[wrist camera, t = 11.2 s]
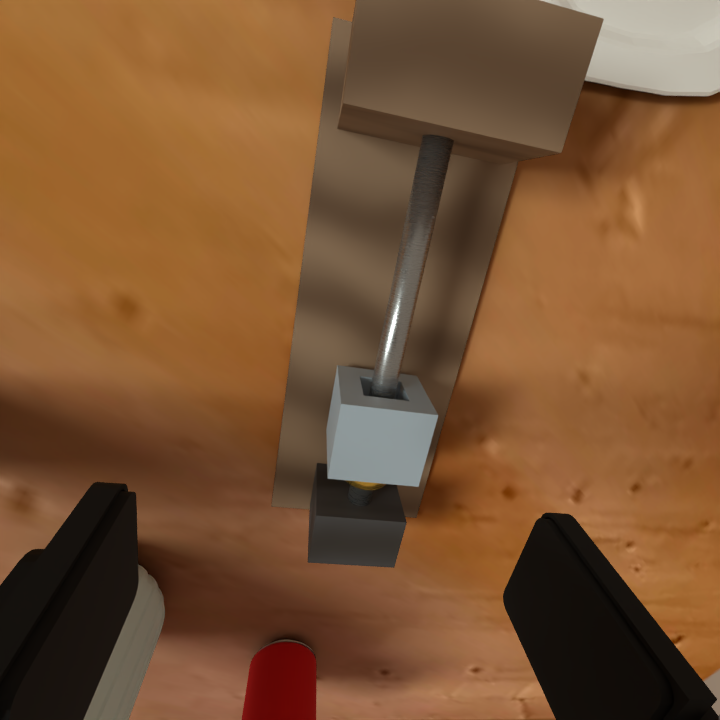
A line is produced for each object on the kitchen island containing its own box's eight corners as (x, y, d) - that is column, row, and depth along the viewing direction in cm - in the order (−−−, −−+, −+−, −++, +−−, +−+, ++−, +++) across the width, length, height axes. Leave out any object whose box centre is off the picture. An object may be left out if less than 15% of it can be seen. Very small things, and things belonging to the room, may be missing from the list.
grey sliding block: (337, 365, 27) (341, 403, 22) (416, 375, 28) (438, 415, 23) (326, 428, 29) (327, 478, 24) (401, 437, 30) (418, 486, 25)
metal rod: (403, 126, 21) (416, 114, 18) (460, 138, 22) (482, 129, 19) (329, 513, 30) (330, 547, 27) (371, 517, 31) (376, 550, 28)
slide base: (332, 20, 21) (338, -58, 15) (540, 73, 23) (625, 24, 17) (271, 502, 33) (259, 578, 26) (415, 514, 34) (437, 587, 28)
